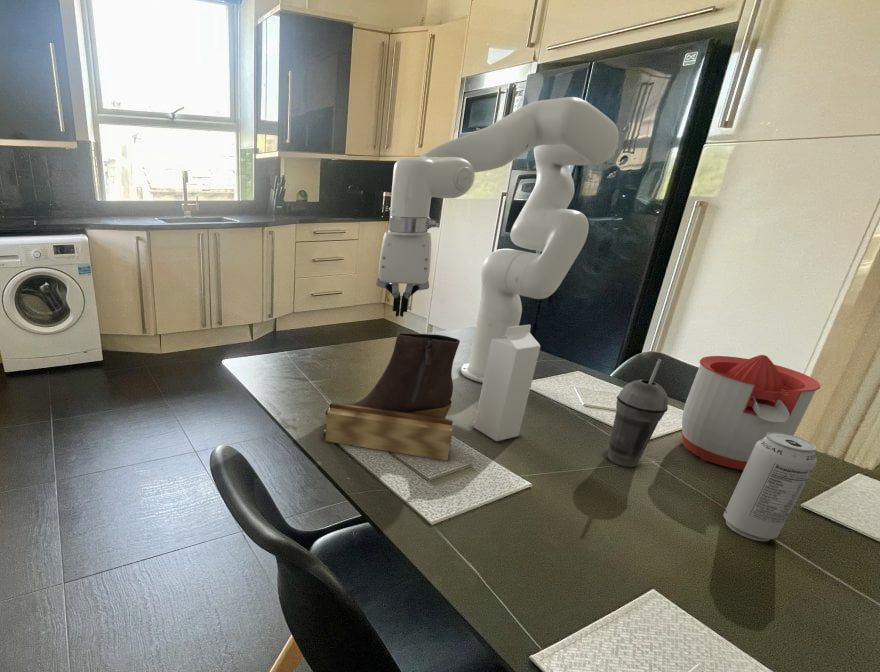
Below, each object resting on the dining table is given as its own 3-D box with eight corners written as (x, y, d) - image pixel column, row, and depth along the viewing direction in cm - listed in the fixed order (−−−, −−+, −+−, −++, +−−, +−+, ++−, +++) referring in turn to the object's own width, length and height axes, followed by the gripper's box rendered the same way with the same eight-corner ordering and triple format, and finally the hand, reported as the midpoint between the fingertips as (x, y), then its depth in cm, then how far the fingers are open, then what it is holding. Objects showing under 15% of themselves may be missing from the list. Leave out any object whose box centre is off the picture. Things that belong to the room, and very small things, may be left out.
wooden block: (446, 452, 89) (452, 419, 86) (447, 460, 86) (453, 427, 84) (327, 433, 94) (330, 402, 91) (325, 441, 91) (327, 408, 88)
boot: (322, 415, 101) (328, 322, 93) (438, 420, 100) (454, 327, 93) (324, 436, 93) (331, 337, 85) (451, 441, 92) (469, 342, 85)
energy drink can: (757, 520, 73) (800, 433, 68) (786, 547, 68) (835, 455, 62) (712, 513, 74) (750, 427, 69) (736, 539, 69) (780, 448, 63)
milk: (518, 436, 95) (546, 329, 87) (495, 442, 93) (521, 332, 84) (494, 422, 100) (518, 319, 92) (472, 427, 98) (494, 322, 89)
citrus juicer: (689, 471, 85) (732, 366, 78) (658, 427, 100) (692, 335, 93) (803, 493, 80) (861, 383, 72) (753, 443, 95) (797, 347, 87)
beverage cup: (638, 453, 90) (674, 353, 83) (652, 474, 84) (692, 368, 76) (594, 446, 92) (625, 347, 85) (604, 466, 86) (639, 361, 78)
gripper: (446, 224, 98) (435, 312, 105) (371, 222, 101) (365, 307, 108) (448, 229, 91) (436, 322, 98) (368, 227, 94) (362, 317, 102)
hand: (399, 314), depth 103 cm, fingers closed
